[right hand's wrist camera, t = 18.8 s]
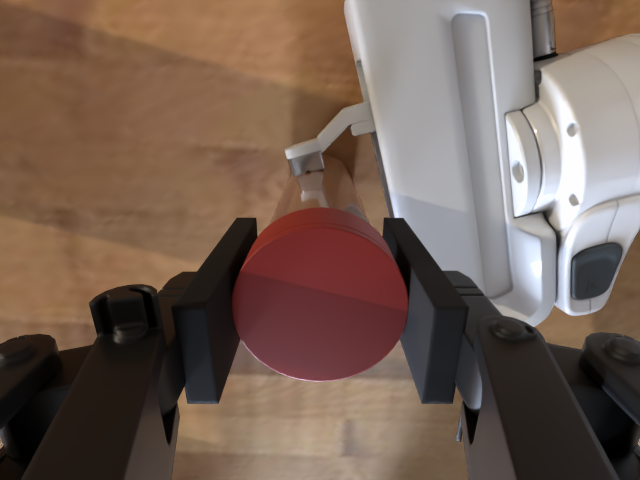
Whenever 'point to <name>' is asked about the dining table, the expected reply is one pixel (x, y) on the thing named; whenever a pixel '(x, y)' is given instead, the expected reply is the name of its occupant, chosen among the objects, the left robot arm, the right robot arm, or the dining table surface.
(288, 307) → the lid
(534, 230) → the left robot arm
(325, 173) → the jar
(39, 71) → the dining table surface
